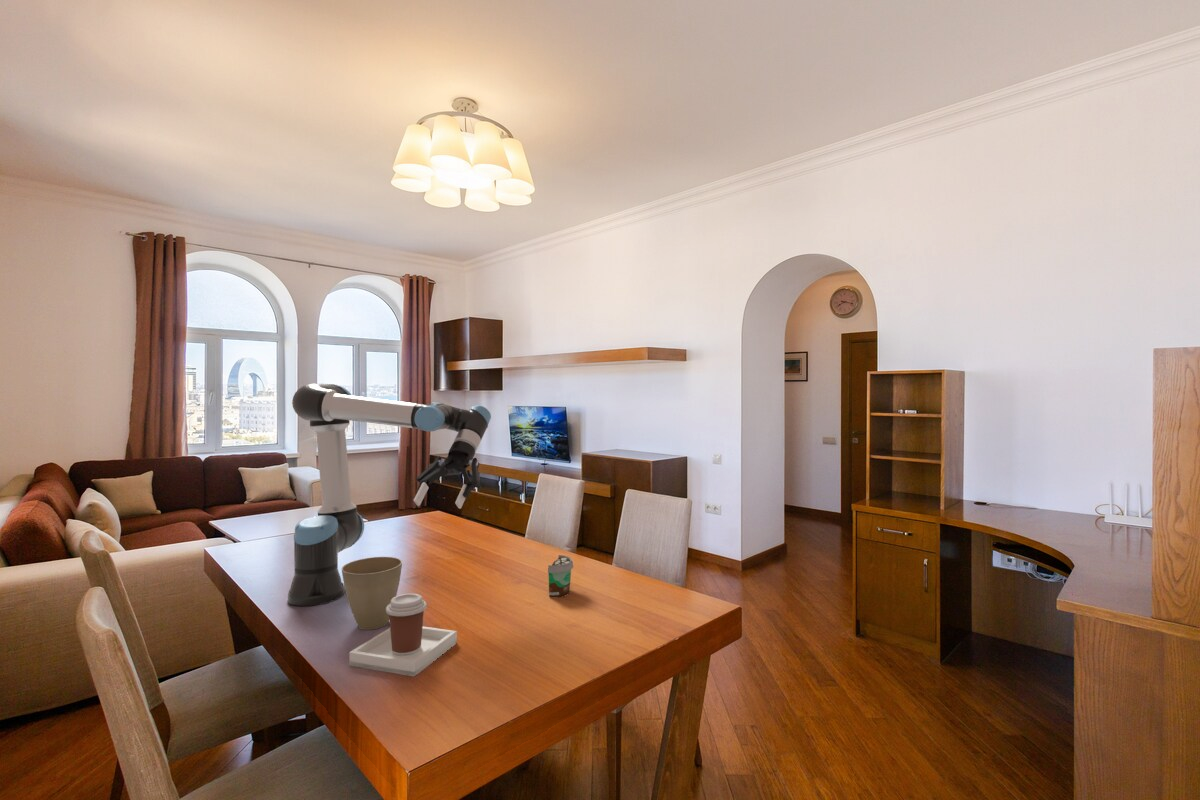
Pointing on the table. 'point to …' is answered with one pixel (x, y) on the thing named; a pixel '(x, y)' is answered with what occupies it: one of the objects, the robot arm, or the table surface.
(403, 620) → the coffee cup
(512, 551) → the table surface
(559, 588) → the food container
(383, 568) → the plant pot
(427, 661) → the tray
